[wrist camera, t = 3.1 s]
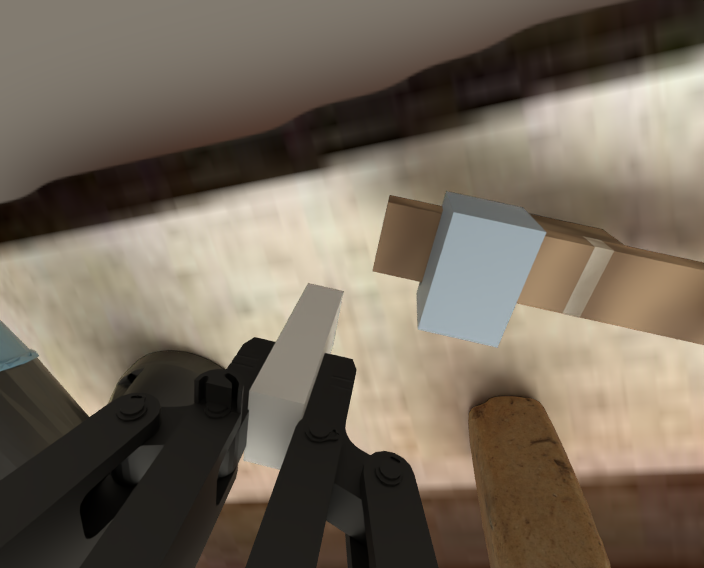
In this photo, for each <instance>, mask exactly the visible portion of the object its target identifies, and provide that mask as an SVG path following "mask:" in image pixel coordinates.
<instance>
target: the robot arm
mask: <svg viewBox="0 0 704 568" xmlns="http://www.w3.org/2000/svg"><path fill="white" fill-rule="evenodd" d="M343 293H344V291H341V290H336V289H332V288H327V287H323V286H319V285H314V284H310V283H308V284H307V286H306V288H305V290H304V292H303V293H302V295H301V297H300V299H299V301H298V303H297V304H296V306H295V308H294V310H293V312H292V314H291V315H290V317H289V319H288V321H287V323H286V325H285V326H284V328H283V330H282V332H281V334H280V336H279V337H278V339H277V341H276V342H273V341H269V340H265V339H260V338H256V337H254V338H252V339H251V340H249V341H248V342H246V343H244V344H243V345H242V347H241V348H240V350H239V351H238V353H237V355H236V356H235V357H234V359H233V360H232V363H230V365H229V366H228V368H227V369H223V368H221V367H220V366H218V365H217V364H215V363H213V362H211V361H209V360H207V359H205V358H203V357H200V356H197V355H194V354H191V353H187V352H181V351H160V352H155V353H151V354H149V355H146V356H144V357H142V358H141V359H139V360H138V361H137V362H136V363H135V364H134V365H133V366H132V367H131V368H130V369H129V370H128V371H127V372H126V373H125V374H124V375H123V376H122V377H121V379H120V380H119V382H118V383H117V385H116V387H115V389H114V392H113V394H112V396H111V398H110V401H109V403H108V404H107V405H106V406H105V407H103V408H102V409H100V410H99V411H98V412H96V413H95V414H93V415H92V416H91V417H89V416H88V415H87V414H86V413H85V412H84V410H83V409H82V408H81V407H80V406H79V405H78V404H77V402H76V401H75V400H74V399H73V398H72V397H71V396H70V394H69V393H68V392H67V391H66V390H65V389H64V388H63V386H62V385H61V384H60V383H59V382H58V381H57V380H56V379H55V377H54V376H53V375H52V374H51V373H50V372H49V371H48V369H47V368H46V367H45V366H44V365H43V364H42V363H41V361H40V360H39V359H38V358H37V357H38V356H39V355H38V354H37V353H36V351H34V350H31V349H29V348H28V347H27V346H26V345H25V344H24V343H23V342H22V341H21V340H20V339H19V338H18V337H17V336H16V335H15V334H14V333H13V332H12V331H11V330H10V329H9V328H8V327H7V326H6V325H5V324H4V323H3V322H2V321H1V320H0V568H195V567H196V564H197V562H198V560H199V558H200V556H201V553H202V551H203V549H204V547H205V545H206V542H207V540H208V538H209V536H210V534H211V531H212V529H213V527H214V525H215V523H216V520H217V518H218V516H219V514H220V512H221V510H222V507H223V505H224V503H225V501H226V499H227V496H228V494H229V492H230V490H231V488H232V485H233V483H234V481H235V479H236V475H237V471H238V462H239V460H240V458H241V456H242V454H243V452H244V460H243V461H247V462H251V463H255V464H259V465H263V466H267V467H271V468H275V469H279V470H280V472H279V475H278V477H277V480H276V483H275V486H274V489H273V492H272V494H271V497H270V500H269V503H268V506H267V508H266V511H265V514H264V517H263V520H262V522H261V525H260V528H259V531H258V534H257V537H256V539H255V542H254V545H253V548H252V551H251V553H250V556H249V559H248V562H247V565H246V567H245V568H316V566H317V561H318V556H319V551H320V546H321V542H322V537H323V532H324V527H325V522H326V521H328V522H329V523H331V524H332V525H334V526H335V527H337V528H338V529H340V530H341V531H343V532H344V533H345V537H346V550H347V562H348V568H438V564H437V560H436V556H435V552H434V549H433V545H432V541H431V537H430V533H429V529H428V525H427V522H426V518H425V514H424V510H423V506H422V502H421V498H420V495H419V491H418V487H417V483H416V479H415V475H414V473H413V470H412V468H411V466H410V465H409V464H408V463H407V461H406V460H405V459H404V458H402V457H401V456H399V455H397V454H395V453H392V452H387V451H381V452H375V453H374V454H372V455H369V454H367V453H365V452H364V451H362V450H360V449H359V448H357V447H356V446H355V445H354V444H353V443H352V442H351V441H350V439H349V438H348V436H347V433H346V430H345V425H346V419H347V414H348V409H349V404H350V399H351V395H352V390H353V385H354V380H355V375H356V367H355V364H354V362H353V359H349V358H345V357H341V356H337V355H332V354H331V351H332V347H333V344H334V339H335V333H336V328H337V323H338V318H339V313H340V308H341V303H342V298H343Z"/></svg>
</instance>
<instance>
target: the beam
mask: <svg viewBox="0 0 704 568" xmlns="http://www.w3.org/2000/svg"><path fill="white" fill-rule="evenodd" d="M442 212H443V208H442V206H438V205H434V204H429V203H424V202H420V201H415V200H410V199H406V198H401V197H396V196H392V195H390V196H389V200H388V205H387V209H386V213H385V218H384V222H383V227H382V231H381V235H380V240H379V244H378V249H377V253H376V257H375V262H374V267H373V271H374V272H379V273H383V274H388V275H392V276H397V277H401V278H406V279H410V280H415V281H419V282H422V280H423V277H424V273H425V270H426V267H427V263H428V260H429V256H430V253H431V250H432V246H433V243H434V239H435V236H436V232H437V229H438V226H439V222H440V219H441V215H442ZM530 215H531V216H532V218H533V219H534V220H535V221H536V222H537V223H538V224H539V225H540V226H541V227H542V228H543V229H544V230H545V231H546V235H545V237H544V239H543V242H542V244H541V246H540V249H539V251H538V253H537V256H536V258H535V260H534V263H533V265H532V268H531V270H530V272H529V275H528V277H527V279H526V282H525V284H524V286H523V289H522V291H521V293H520V296H519V298H518V300H517V303H518V304H522V305H527V306H531V307H536V308H540V309H545V310H549V311H554V312H558V313H562V314H566V315H570V316H575V317H579V318H585V319H589V320H594V321H598V322H603V323H607V324H612V325H616V326H621V327H625V328H630V329H634V330H639V331H643V332H648V333H652V334H657V335H661V336H666V337H670V338H675V339H679V340H684V341H688V342H693V343H697V344H702V345H704V263H703V262H698V261H694V260H689V259H684V258H680V257H675V256H670V255H666V254H661V253H656V252H652V251H647V250H642V249H638V248H633V247H629V246H625V245H623V244H622V243H621V242H619V241H618V240H617V239H615V238H614V237H612V236H611V235H610V234H608V233H607V232H605V231H604V230H603V229H598V228H594V227H589V226H584V225H580V224H575V223H570V222H566V221H561V220H556V219H552V218H547V217H542V216H538V215H533V214H530Z"/></svg>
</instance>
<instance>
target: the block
mask: <svg viewBox="0 0 704 568" xmlns="http://www.w3.org/2000/svg"><path fill="white" fill-rule="evenodd" d="M468 425H469V437H470V447H471V453H472V460H473V467H474V474H475V480H476V487H477V493H478V499H479V504H480V510H481V517H482V524H483V530H484V534H485V540H486V546H487V551H488V556H489V561H490V567H491V568H610V562H609V560H608V557H607V554H606V552H605V548H604V545H603V542H602V540H601V538H600V536H599V534H598V531H597V529H596V526H595V523H594V520H593V518H592V514H591V511H590V508H589V506H588V504H587V501H586V499H585V497H584V495H583V492H582V490H581V487H580V485H579V483H578V480H577V478H576V475H575V473H574V470H573V468H572V466H571V464H570V462H569V459H568V457H567V454H566V452H565V450H564V448H563V445H562V443H561V441H560V439H559V437H558V435H557V433H556V430H555V428H554V426H553V424H552V422H551V421H550V419H549V417H548V415H547V413H546V411H545V409H544V407H543V406H542V405H541V403H540V402H538V401H536V400H534V399H532V398H522V397H516V396H498V397H493V398H490V399H488V401H487V402H486V403H483V404H481V405H479V406H475V407H474V408H472V409H471V411H470V413H469V419H468Z"/></svg>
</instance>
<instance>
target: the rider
mask: <svg viewBox="0 0 704 568" xmlns="http://www.w3.org/2000/svg"><path fill="white" fill-rule="evenodd" d="M442 208H443V212H442V215H441V219H440V222H439V226H438V229H437V232H436V236H435V239H434V243H433V246H432V250H431V253H430V256H429V260H428V263H427V267H426V270H425V273H424V277H423V280H422V282H420V283H419V287H418V290H417V321H418V330H423V331H427V332H431V333H436V334H440V335H445V336H449V337H453V338H458V339H462V340H467V341H471V342H475V343H480V344H484V345H489V346H493V347H497V348H498V345H499V343H500V340H501V338H502V336H503V333H504V331H505V329H506V326H507V324H508V322H509V319H510V317H511V315H512V312H513V310H514V308H515V305H516V303H517V300H518V298H519V296H520V293H521V291H522V289H523V286H524V284H525V282H526V279H527V277H528V275H529V272H530V270H531V268H532V265H533V263H534V260H535V258H536V256H537V253H538V251H539V249H540V246H541V244H542V242H543V239H544V237H545V235H546V231H545V230H544V229H543V228H542V227H541V226H540V225H539V224H538V223H537V222H536V221H535V220H534V219H533V218H532V216H531V215H530V214H529V213H528V212H527V211H526V210H525V209H524V208H523V207H518V206H513V205H509V204H504V203H499V202H495V201H490V200H485V199H481V198H476V197H471V196H467V195H462V194H457V193H453V192H448V191H446V194H445V197H444V201H443V204H442Z"/></svg>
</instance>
